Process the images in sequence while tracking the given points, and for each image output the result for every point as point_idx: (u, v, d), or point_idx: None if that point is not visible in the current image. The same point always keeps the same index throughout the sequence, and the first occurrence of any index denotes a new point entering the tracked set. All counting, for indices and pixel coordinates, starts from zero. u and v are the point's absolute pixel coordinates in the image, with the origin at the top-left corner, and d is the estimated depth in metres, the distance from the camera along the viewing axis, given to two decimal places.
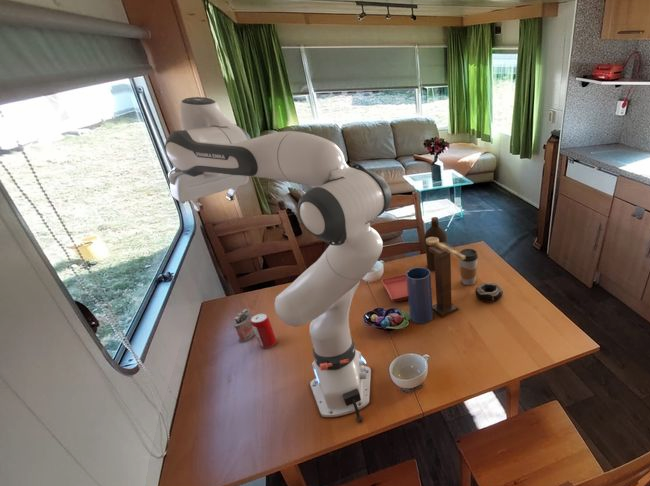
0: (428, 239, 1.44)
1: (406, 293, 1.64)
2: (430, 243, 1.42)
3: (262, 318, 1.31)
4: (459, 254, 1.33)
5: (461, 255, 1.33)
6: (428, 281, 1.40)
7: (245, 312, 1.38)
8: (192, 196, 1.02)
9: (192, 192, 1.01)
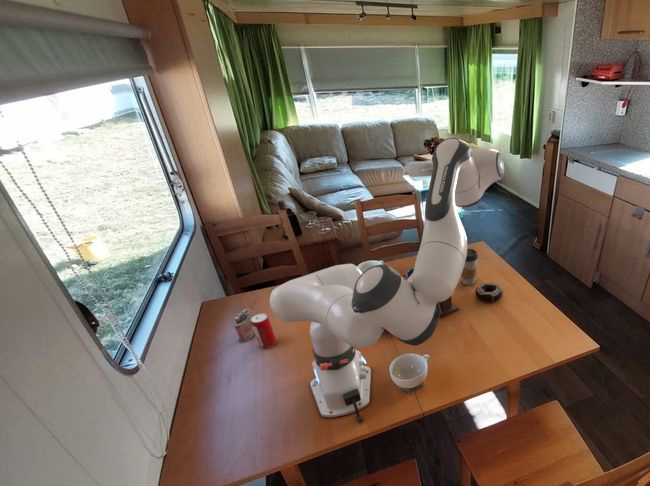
0: None
1: None
2: None
3: (262, 318, 1.31)
4: None
5: None
6: None
7: (245, 312, 1.38)
8: None
9: None
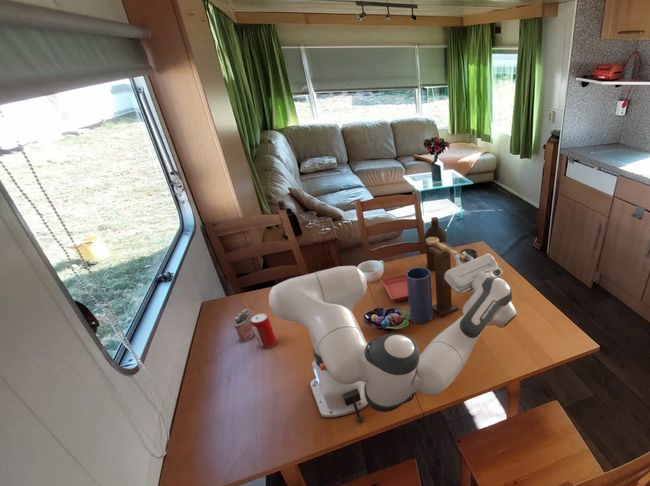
0: (428, 239, 1.44)
1: (406, 293, 1.64)
2: (430, 243, 1.42)
3: (262, 318, 1.31)
4: (459, 254, 1.33)
5: (461, 255, 1.33)
6: (428, 281, 1.40)
7: (245, 312, 1.38)
8: None
9: None
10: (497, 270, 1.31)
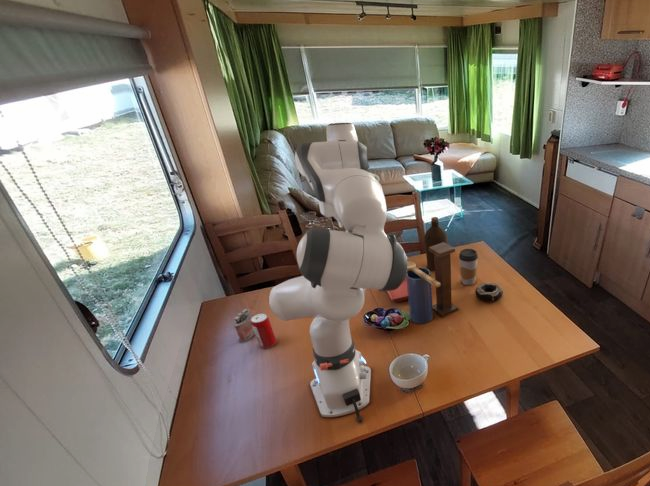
0: None
1: (406, 293, 1.64)
2: (407, 268, 1.42)
3: (262, 318, 1.31)
4: (434, 281, 1.33)
5: (436, 282, 1.33)
6: None
7: (245, 312, 1.38)
8: (335, 212, 1.14)
9: (335, 208, 1.13)
10: None
